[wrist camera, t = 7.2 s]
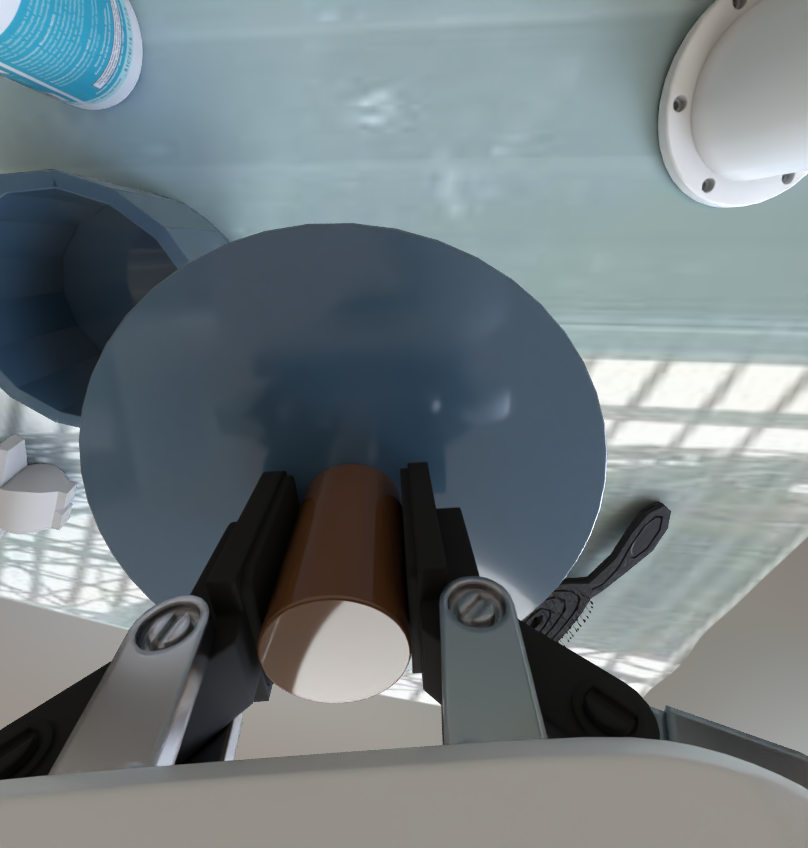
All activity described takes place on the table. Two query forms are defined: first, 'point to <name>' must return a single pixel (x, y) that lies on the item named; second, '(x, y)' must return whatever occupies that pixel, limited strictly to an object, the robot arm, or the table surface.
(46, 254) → the canister
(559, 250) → the table surface
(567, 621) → the hairbrush
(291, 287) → the lid
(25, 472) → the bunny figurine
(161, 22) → the table surface
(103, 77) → the pill bottle
